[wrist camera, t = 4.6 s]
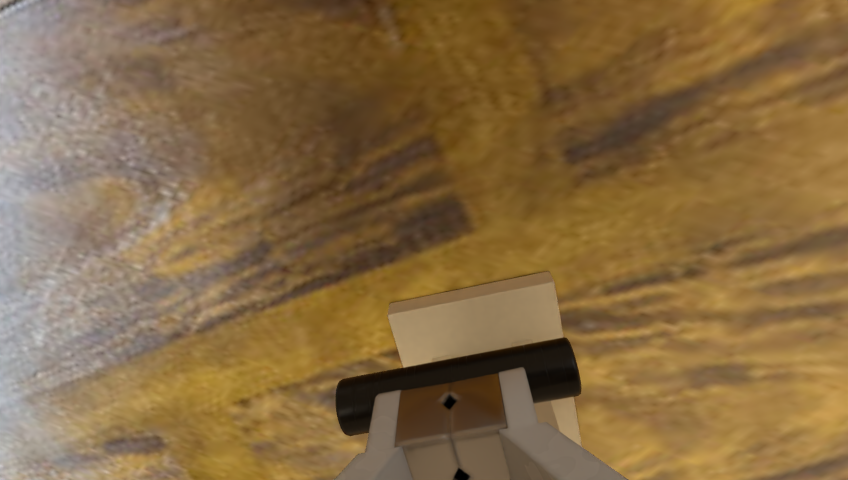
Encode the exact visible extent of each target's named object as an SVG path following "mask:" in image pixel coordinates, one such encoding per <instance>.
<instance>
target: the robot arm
mask: <svg viewBox="0 0 848 480" xmlns="http://www.w3.org/2000/svg"><path fill="white" fill-rule="evenodd" d="M334 480H628V479H626V478H625V477H623V476H622V475H621V474H619V473H618V472H616V471H615V470H614V469H612V468H611V467H609V466H608V465H606V464H605V463H604V462H602V461H601V460H599V459H598V458H597V457H595V456H594V455H592V454H591V453H589V452H588V451H587V450H585V449H584V448H582V447H581V446H580V445H578V444H577V443H575V442H574V441H573V440H571V439H570V438H568V437H567V436H565V435H564V434H563V433H561V432H560V431H558V430H557V429H556V428H554V427H553V426H551V425H550V424H548V423H547V422H543V423H538V419H537V415H536V411H535V407H534V403H533V399H532V395H531V392H530V388H529V384H528V380H527V376H526V372H525V369H524V368H523V367H520V368H516V369H511V370H506V371H502V372H499V375H498V373H496V374H491V375H486V376H480V377H475V378H470V379H465V380H459V381H454V382H446V383H439V384H433V385H427V386H421V387H414V388H408V389H402V390H397V391H391V392H385V393H380V394H378V395H377V396H376V398H375V401H374V407H373V412H372V418H371V423H370V429H369V434H368V440H367V445H366V451H365V453H361V454H358V455H357V456H356V457H355V458H354V459H353V460H352V461H351V462H350V463H349V464H348V465H347V466H346V468H345V469H344V470H343V471H342V472H341V473H340V474H339V475H338V476H337V477H336V478H335V479H334Z"/></svg>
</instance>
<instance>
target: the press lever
mask: <svg viewBox="0 0 848 480" xmlns="http://www.w3.org/2000/svg"><path fill="white" fill-rule="evenodd" d="M520 367H523V368H524V369H525V372H526V376H527V380H528V384H529V388H530V392H531V395H532V399H533V403H534V404H535V403H541V402H547V401H552V400H558V399H564V398H569V397H575V396H579V395H580V394H581V380H580V375H579V370H578V366H577V362H576V359H575V355H574V352H573V349H572V346H571V344H570V342H569V341H568V339H567V338H564V337H562V338H557V339H552V340H546V341H541V342H536V343H531V344H525V345H520V346H515V347H509V348H504V349H499V350H494V351H488V352H483V353H478V354H472V355H467V356H462V357H456V358H451V359H446V360H441V361H435V362H430V363H425V364H419V365H414V366H409V367H404V368H398V369H393V370H388V371H382V372H377V373H372V374H366V375H361V376H356V377H351V378H345V379H342V380H341V381H339V383H338V385H337V389H336V412H337V417H338V421H339V424H340V427H341V429H342V431H343V432H344V434H346V435H348V436H353V435H359V434H364V433H369V429H370V423H371V418H372V412H373V407H374V401H375V398H376V396H377V395H378V394H380V393H385V392H391V391H397V390H402V389H408V388H414V387H421V386H427V385H433V384H439V383H446V382H454V381H459V380H465V379H470V378H475V377H480V376H486V375H491V374H496V373H498V375H499V372H502V371H506V370H511V369H516V368H520Z"/></svg>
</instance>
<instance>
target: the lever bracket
mask: <svg viewBox="0 0 848 480" xmlns="http://www.w3.org/2000/svg"><path fill="white" fill-rule="evenodd" d="M387 316H388V320H389V323H390V326H391V329H392V333H393V336H394V339H395V342H396V346H397V349H398V352H399V355H400V359H401V362H402V365H403V368H404V367H409V366H414V365H419V364H425V363H430V362H435V361H441V360H446V359H451V358H456V357H462V356H467V355H472V354H478V353H483V352H488V351H494V350H499V349H504V348H509V347H515V346H520V345H525V344H531V343H536V342H541V341H546V340H552V339H557V338H562V337H563V331H562V325H561V319H560V313H559V307H558V301H557V295H556V289H555V283H554V280H553V278H552V276H551V274H550V272H549V271H547V272H542V273H537V274H532V275H528V276H523V277H518V278H513V279H508V280H503V281H498V282H493V283H488V284H483V285H479V286H474V287H469V288H464V289H459V290H454V291H449V292H444V293H439V294H434V295H429V296H425V297H420V298H415V299H410V300H405V301H400V302H395V303H390V304H389V309H388V315H387ZM534 407H535V411H536V415H537V419H538V423H543V422H547V423H548V424H550V425H551V426H553V427H554V428H556V429H557V430H558V431H560V432H561V433H563V434H564V435H565V436H567V437H568V438H570V439H571V440H573V441H574V442H575V443H577V444H578V445H580V446H581V447H582V444H581V438H580V432H579V426H578V420H577V414H576V408H575V402H574V397H569V398H564V399H558V400H552V401H547V402H541V403H535V404H534Z"/></svg>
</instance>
